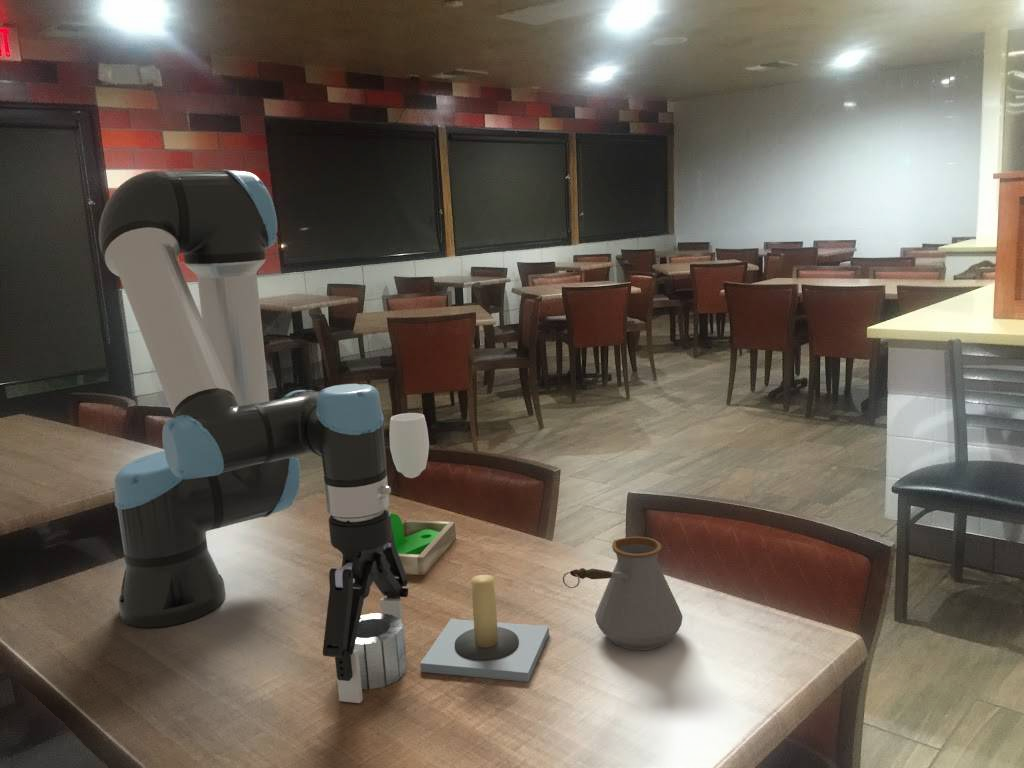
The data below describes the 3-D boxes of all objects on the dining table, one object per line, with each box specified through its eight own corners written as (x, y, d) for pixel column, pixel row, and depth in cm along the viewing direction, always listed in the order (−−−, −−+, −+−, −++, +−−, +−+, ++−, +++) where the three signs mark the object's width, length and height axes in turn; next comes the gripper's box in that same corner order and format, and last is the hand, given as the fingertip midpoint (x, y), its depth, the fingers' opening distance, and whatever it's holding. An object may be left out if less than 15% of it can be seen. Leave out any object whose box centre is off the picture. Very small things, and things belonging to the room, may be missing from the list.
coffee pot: (624, 608, 120) (621, 509, 117) (697, 629, 113) (696, 524, 110) (535, 676, 104) (529, 562, 101) (614, 705, 97) (611, 583, 94)
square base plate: (420, 671, 106) (414, 596, 104) (451, 626, 118) (446, 558, 116) (528, 681, 103) (524, 604, 101) (549, 634, 114) (545, 563, 112)
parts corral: (367, 571, 138) (365, 554, 137) (403, 535, 153) (402, 519, 152) (424, 575, 135) (423, 557, 135) (455, 537, 150) (454, 521, 150)
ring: (330, 685, 104) (326, 641, 103) (358, 653, 112) (354, 611, 110) (390, 691, 102) (386, 646, 101) (414, 658, 110) (411, 615, 108)
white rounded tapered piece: (442, 520, 160) (435, 414, 156) (418, 532, 154) (410, 422, 150) (412, 514, 164) (404, 411, 160) (388, 526, 158) (379, 419, 154)
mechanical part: (394, 569, 138) (388, 523, 137) (373, 561, 142) (367, 516, 141) (449, 545, 146) (444, 502, 145) (428, 539, 150) (423, 496, 149)
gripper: (342, 552, 90) (359, 731, 94) (424, 481, 113) (435, 626, 118) (279, 549, 92) (299, 724, 96) (372, 479, 115) (385, 622, 119)
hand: (374, 671), depth 107 cm, fingers open, 13 cm apart
